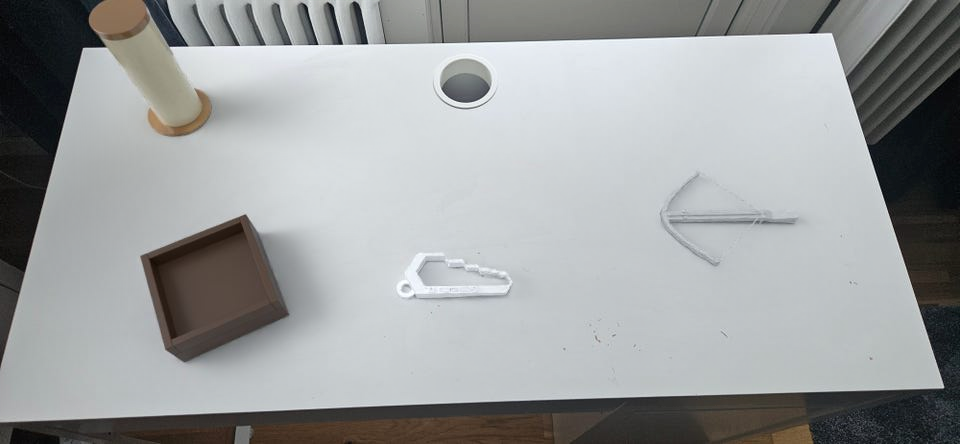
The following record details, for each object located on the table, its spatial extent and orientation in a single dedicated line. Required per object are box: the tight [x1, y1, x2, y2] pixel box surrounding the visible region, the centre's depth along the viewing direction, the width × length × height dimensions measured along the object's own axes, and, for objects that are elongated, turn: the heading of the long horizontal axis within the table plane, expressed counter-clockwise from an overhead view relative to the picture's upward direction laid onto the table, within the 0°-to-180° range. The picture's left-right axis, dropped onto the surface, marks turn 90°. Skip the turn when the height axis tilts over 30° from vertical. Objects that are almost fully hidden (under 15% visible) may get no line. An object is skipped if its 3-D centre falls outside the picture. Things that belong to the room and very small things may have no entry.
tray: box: [140, 213, 290, 363], centre depth 64 cm, size 12×12×4 cm
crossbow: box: [660, 170, 799, 266], centre depth 72 cm, size 16×13×2 cm
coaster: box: [147, 87, 212, 137], centre depth 79 cm, size 8×8×1 cm
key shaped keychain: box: [396, 252, 513, 300], centre depth 67 cm, size 13×5×2 cm, turn 91°
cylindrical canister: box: [88, 0, 202, 127], centre depth 71 cm, size 6×6×16 cm
